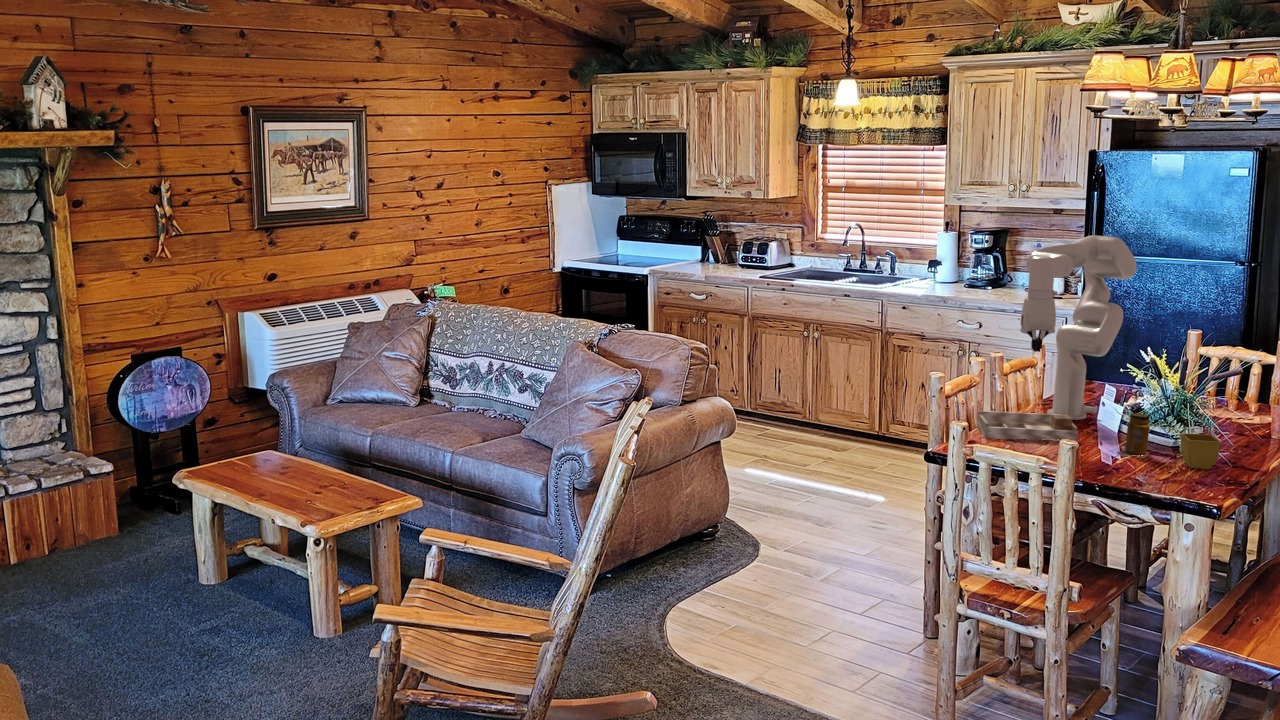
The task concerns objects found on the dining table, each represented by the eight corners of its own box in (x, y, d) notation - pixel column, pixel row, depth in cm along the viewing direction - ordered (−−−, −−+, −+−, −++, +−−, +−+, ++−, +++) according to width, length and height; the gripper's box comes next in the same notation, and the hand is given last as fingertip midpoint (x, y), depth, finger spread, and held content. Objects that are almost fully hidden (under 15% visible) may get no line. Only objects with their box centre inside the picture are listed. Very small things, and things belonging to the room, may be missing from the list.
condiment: (1151, 453, 340) (1156, 415, 338) (1140, 458, 334) (1144, 419, 332) (1127, 448, 345) (1131, 410, 343) (1115, 453, 339) (1119, 414, 337)
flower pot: (1176, 462, 331) (1180, 432, 330) (1208, 464, 330) (1212, 434, 328) (1185, 470, 323) (1189, 440, 321) (1218, 472, 321) (1222, 442, 320)
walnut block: (1067, 427, 359) (1068, 415, 358) (1070, 431, 354) (1072, 419, 353) (1050, 426, 359) (1052, 414, 359) (1054, 430, 355) (1055, 418, 354)
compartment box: (1065, 431, 364) (1066, 414, 363) (1076, 442, 351) (1078, 425, 350) (976, 427, 367) (978, 410, 366) (985, 437, 354) (986, 421, 352)
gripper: (1060, 292, 362) (1056, 348, 366) (1013, 292, 363) (1009, 348, 368) (1067, 296, 355) (1063, 353, 359) (1019, 296, 356) (1015, 353, 360)
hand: (1036, 350), depth 363 cm, fingers closed
